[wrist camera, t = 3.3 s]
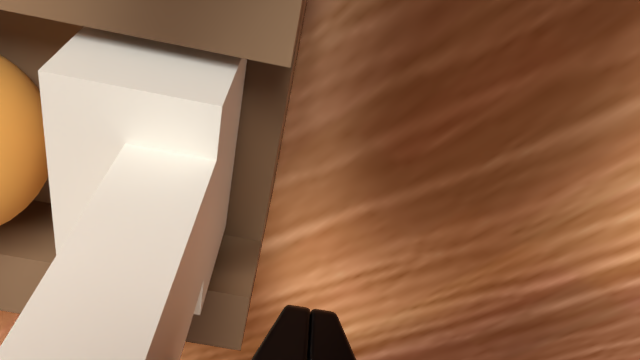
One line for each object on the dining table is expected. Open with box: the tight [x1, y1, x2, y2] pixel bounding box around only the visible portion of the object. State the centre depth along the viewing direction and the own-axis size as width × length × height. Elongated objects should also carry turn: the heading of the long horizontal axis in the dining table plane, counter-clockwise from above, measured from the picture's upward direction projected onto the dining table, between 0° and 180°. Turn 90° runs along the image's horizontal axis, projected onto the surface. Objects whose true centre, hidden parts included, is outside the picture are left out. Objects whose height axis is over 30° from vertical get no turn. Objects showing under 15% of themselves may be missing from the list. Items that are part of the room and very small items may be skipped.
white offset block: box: [0, 26, 247, 360], centre depth 10 cm, size 3×5×8 cm, turn 169°
